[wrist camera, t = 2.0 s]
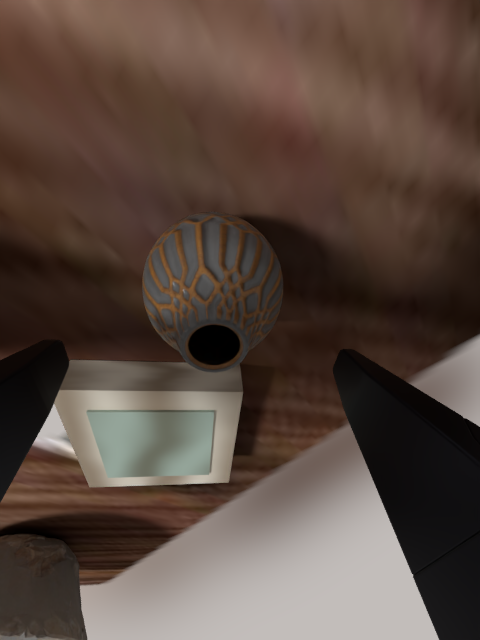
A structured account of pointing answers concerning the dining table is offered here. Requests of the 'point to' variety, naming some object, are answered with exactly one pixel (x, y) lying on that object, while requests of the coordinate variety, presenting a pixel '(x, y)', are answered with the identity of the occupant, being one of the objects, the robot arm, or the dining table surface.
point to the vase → (212, 289)
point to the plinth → (150, 421)
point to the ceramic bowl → (39, 590)
